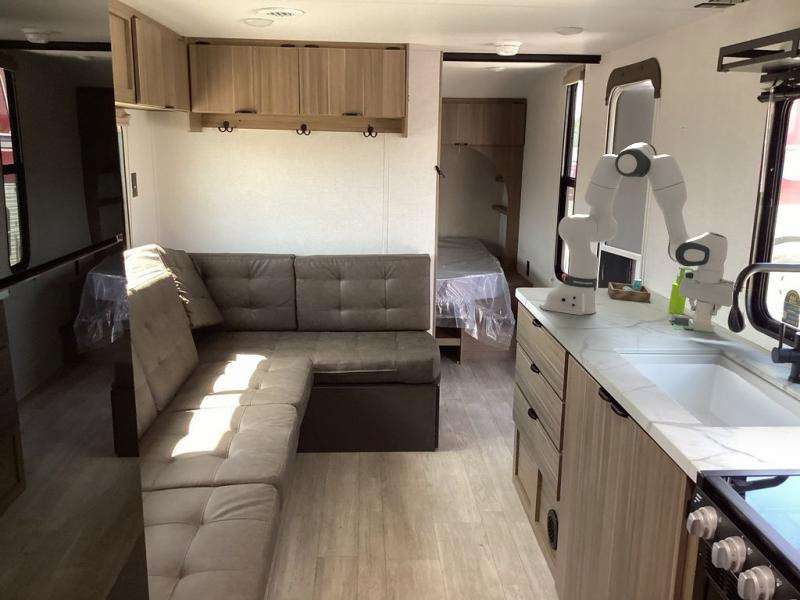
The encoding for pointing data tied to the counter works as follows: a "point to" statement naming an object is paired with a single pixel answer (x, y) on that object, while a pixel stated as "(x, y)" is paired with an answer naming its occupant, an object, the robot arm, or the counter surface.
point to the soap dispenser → (677, 295)
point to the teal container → (634, 286)
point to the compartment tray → (695, 327)
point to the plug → (703, 312)
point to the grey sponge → (679, 319)
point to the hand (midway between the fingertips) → (703, 313)
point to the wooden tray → (628, 292)
